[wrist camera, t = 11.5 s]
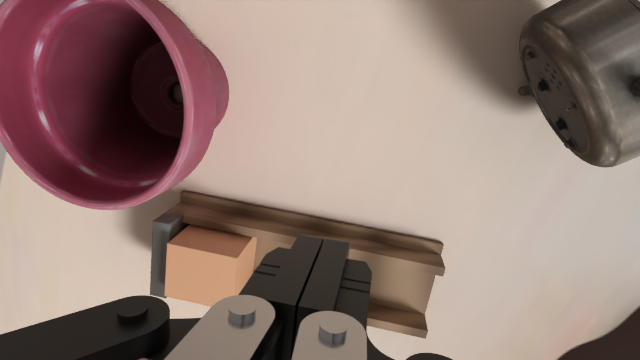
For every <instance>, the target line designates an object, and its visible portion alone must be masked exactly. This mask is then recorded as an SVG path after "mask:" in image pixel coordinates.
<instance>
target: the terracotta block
mask: <svg viewBox="0 0 640 360" xmlns="http://www.w3.org/2000/svg"><path fill="white" fill-rule="evenodd" d="M256 244H257V238H255V237H251V236H246V235H241V234H236V233H231V232H227V231H222V230H217V229H212V228H207V227H202V226H198V225H193V224H190V225H189V226H187V227H186V228H185V229H184V230H183V231H181V232H180V233H179V234H178V235H177V236H175V237H174V238H173V239H172V240H171V241H170V242H168V243H167V256H166V276H165V295H164V296H167V297H171V298H176V299H180V300H185V301H189V302H194V303H198V304H202V305H207V306H211V307H212V306H213V305H214V304H215V303H217V302H218V301H220V300H222V299H224V298H227V297H230V296H235V295H239V293H240V292H241V290H242V289H243V287H244V286H245V284H246V283H247V281H248V280H249V278H250V277H251V276H252V274H253V269H254V261H255V252H256Z"/></svg>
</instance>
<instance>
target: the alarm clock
mask: <svg viewBox="0 0 640 360" xmlns="http://www.w3.org/2000/svg"><path fill="white" fill-rule="evenodd" d="M519 51H520V58H521V62H522V66H523V70H524V73H525V76H526V79H527V82H528V84H529V86H527V87H522V88H520V89H519V90H518V92H519V94H520V95H522V96H525V95H532V96H533V97H534V98H535V100H536V102H537V104H538V106H539V107H540V109H541V111H542V113H543V115H544V116H545V118H546V120H547V121H548V123H549V124H550V126H551V127H552V129H553V130H554V131H555V133H556V134H557V135H558V137H559V138H560V139H561V141H562V142H563V143H564V145H565V147H566V148H569V149H570V150H571V151H572V152H573V153H574V154H575V155H576V156H578V157H579V158H580V159H582V160H583V161H585V162H587V163H589V164H591V165H594V166H599V167H613V166H617V165H619V164H621V163H624V162H626V161H628V160H631V159H633V158H636V157H638V156H640V2H639V1H638V0H561V1H559V2H557V3H556V4H554V5H552V6H550V7H548V8H547V9H545V10H543V11H541V12H539V13H538V14H536V15H534V16H533V17H531V18H530V19H529V20H528V21H527V22H526V24H525V25H524V27H523V29H522V32H521V35H520V41H519Z"/></svg>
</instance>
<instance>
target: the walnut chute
mask: <svg viewBox="0 0 640 360" xmlns="http://www.w3.org/2000/svg"><path fill="white" fill-rule="evenodd" d="M190 224H193V225H198V226H202V227H207V228H212V229H217V230H222V231H227V232H231V233H236V234H241V235H246V236H251V237H255V238H257V244H256V252H255V261H254V269H253V273H254V272H255V270H256V268H257V267H258V265H260V262H261V261H262V259H263V258H264V256H265V255H266V254H267V253H269V252H270V251H272V250H274V249H276V248H278V247H282V248H287V249H291V247H292V245H293V244H294V242H295V240H296V238H297V237H298V235H299V234H303V235H309V236H315V237H321V238H324V240H325V238H328V239H334V240H340V241H346V242H350V250H349V258H348V259H352V260H358V261H364V262H366V263H367V265H368V266H369V268H370V269H371V271H372V279H371V288H370V298H369V307H368V317H367V326H372V327H376V328H381V329H385V330H390V331H394V332H399V333H403V334H408V335H412V336H417V337H421V338H426V335H427V332H428V330H427V325H426V319H425V311H426V308H427V304H428V300H429V297H430V293H431V289H432V286H433V282H434V278H435V275H439V276H443V274H444V271H445V266H444V263H443V260H442V257H441V253H442V249H443V243H440V242H435V241H430V240H426V239H421V238H416V237H411V236H406V235H401V234H396V233H391V232H386V231H381V230H376V229H371V228H366V227H361V226H356V225H351V224H346V223H341V222H336V221H331V220H326V219H321V218H316V217H311V216H306V215H301V214H296V213H291V212H286V211H281V210H276V209H271V208H266V207H261V206H256V205H251V204H246V203H241V202H236V201H231V200H226V199H221V198H216V197H211V196H206V195H201V194H196V193H191V192H186V191H183V192H181V202H180V203H179V204H177V205H176V206H174V207H173V208H171V209H170V210H169V211H167V212H166V213H164V214H163V215H161V216H160V217H158V218H157V219H155V220H154V221H153V233H152V258H151V283H150V295H154V296H158V297H163V298H166V297H167V296H164V295H165V276H166V256H167V243H168V242H170V241H171V240H172V239H173V238H174V237H175V236H177V235H178V234H179V233H180V232H181V231H183V230H184V229H185V228H186V227H187V226H189V225H190Z"/></svg>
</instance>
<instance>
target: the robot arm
mask: <svg viewBox="0 0 640 360" xmlns="http://www.w3.org/2000/svg"><path fill="white" fill-rule="evenodd" d="M349 250H350V242H346V241H340V240H334V239H328V238H325V240H324V238H321V237H315V236H309V235H303V234H299V235H298V237H297V238H296V240H295V242H294V244H293V245H292V247H291V249H287V248H282V247H278V248H276V249H274V250H272V251H270V252H269V253H267V254H266V255H265V256H264V258H263V259H262V261H261V262H260V265H258V267H257V268H256V270H255V272H254V273H253V274H252V276H251V277H250V278H249V280H248V281H247V283H246V284H245V286H244V287H243V289H242V290H241V292H240V293H239V295H235V296H230V297H227V298H224V299H222V300H220V301H218V302H217V303H215V304H214V305H213V306H212V307H211V308H210V309H209V310H208V312H207V313H206V314H205V315H204V316H203V317H202V318H191V319H170V310H169V306H168V305H167V303H165V302H164V301H163V300H161V299H159V298H156V297H152V296H131V297H126V298H122V299H119V300H115V301H112V302H109V303H105V304H102V305H99V306H95V307H92V308H89V309H85V310H82V311H79V312H75V313H72V314H68V315H65V316H62V317H58V318H55V319H52V320H48V321H45V322H42V323H38V324H35V325H31V326H28V327H25V328H21V329H18V330H15V331H11V332H8V333H5V334H1V335H0V360H394V359H392V358H390V357H388V356H386V355H385V354H383V353H382V352H380V351H379V350H378V349H377V348H376V347H375V346H374V345H373V344H372V343H371V341H370V340H369V338H368V336H367V332H366V327H367V317H368V307H369V298H370V288H371V279H372V271H371V269H370V268H369V266H368V265H367V263H366V262H364V261H358V260H352V259H348V258H349ZM406 360H452V359H450V358H448V357H445V356H442V355H439V354H433V353H419V354H415V355H412V356H410V357H409V358H407V359H406Z"/></svg>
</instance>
